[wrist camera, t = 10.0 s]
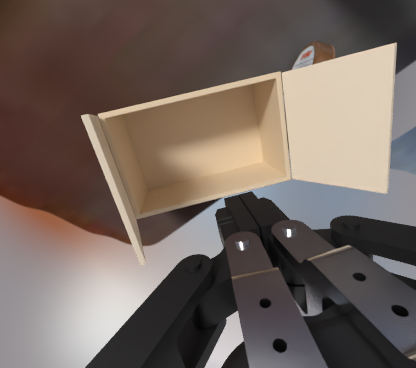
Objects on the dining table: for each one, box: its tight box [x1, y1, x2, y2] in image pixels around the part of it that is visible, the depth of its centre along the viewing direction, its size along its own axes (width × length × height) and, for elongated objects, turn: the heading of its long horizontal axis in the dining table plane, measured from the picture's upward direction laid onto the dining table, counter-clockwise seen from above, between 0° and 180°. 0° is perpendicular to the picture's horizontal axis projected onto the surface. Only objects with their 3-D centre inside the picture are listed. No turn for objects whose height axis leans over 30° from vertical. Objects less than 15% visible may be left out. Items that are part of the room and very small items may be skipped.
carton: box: [98, 71, 291, 219], centre depth 34 cm, size 22×14×10 cm, turn 103°
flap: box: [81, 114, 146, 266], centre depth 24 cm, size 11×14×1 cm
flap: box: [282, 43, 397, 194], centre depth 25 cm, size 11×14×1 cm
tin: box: [283, 41, 335, 149], centre depth 35 cm, size 15×3×8 cm, turn 165°
